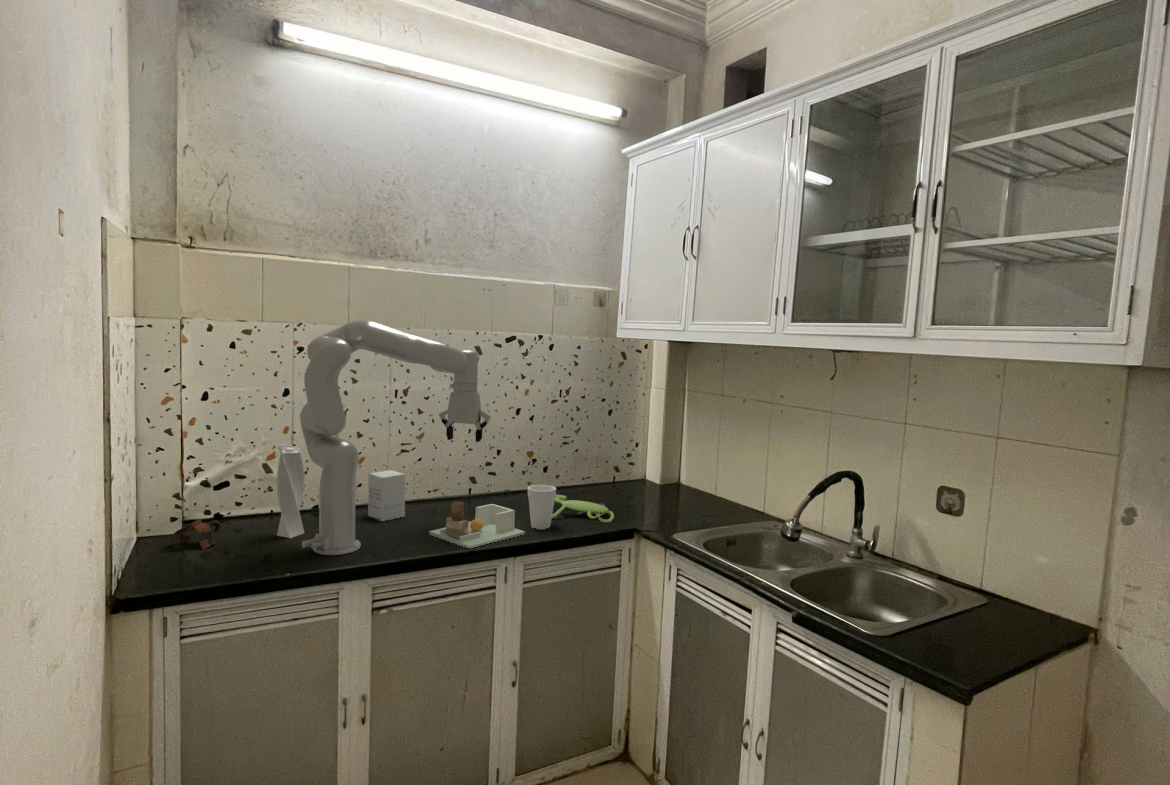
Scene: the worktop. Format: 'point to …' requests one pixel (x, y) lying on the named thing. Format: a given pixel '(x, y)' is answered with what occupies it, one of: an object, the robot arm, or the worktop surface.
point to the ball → (476, 525)
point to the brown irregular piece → (200, 528)
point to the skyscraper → (290, 491)
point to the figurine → (583, 508)
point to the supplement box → (386, 495)
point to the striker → (457, 521)
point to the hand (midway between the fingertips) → (464, 440)
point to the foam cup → (541, 505)
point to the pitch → (485, 527)
